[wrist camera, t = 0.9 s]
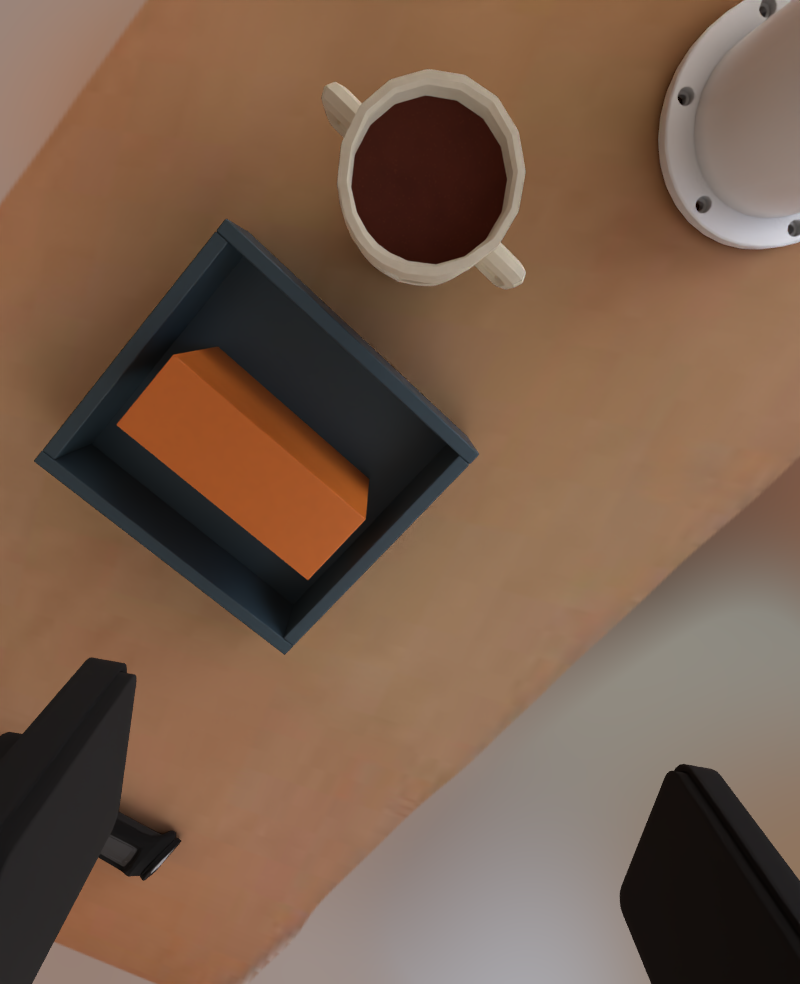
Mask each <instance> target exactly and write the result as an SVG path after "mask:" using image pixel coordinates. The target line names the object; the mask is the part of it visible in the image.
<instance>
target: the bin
mask: <svg viewBox="0 0 800 984" xmlns="http://www.w3.org/2000/svg"><path fill="white" fill-rule="evenodd" d="M212 347H219V348H220V349H221V350H223V351H224V352H225V353H226V354H227V355H228V356H229V357H231V358H232V359H233V360H234V361H235V362H236V363H237V364H239V365H240V366H241V367H242V368H243V369H244V370H245V371H247V372H248V373H249V374H250V375H251V376H252V377H253V378H255V379H256V380H257V381H258V382H259V383H260V384H261V385H262V386H264V387H265V388H266V389H267V390H268V391H269V392H270V393H272V394H273V395H274V396H275V397H276V398H277V399H278V400H280V401H281V402H282V403H283V404H284V405H285V406H286V407H288V408H289V409H290V410H291V411H292V412H293V413H294V414H296V415H297V416H298V417H299V418H300V419H301V420H302V421H304V422H305V423H306V424H307V425H308V426H309V427H310V428H312V429H313V430H314V431H315V432H316V433H317V434H318V435H320V436H321V437H322V438H323V439H324V440H325V441H326V442H328V443H329V444H330V445H331V446H332V447H333V448H334V449H336V450H337V451H338V452H339V453H340V454H341V455H342V456H343V457H345V458H346V459H347V460H348V461H349V462H350V463H351V464H353V465H354V466H355V467H356V468H357V469H358V470H359V471H361V472H362V473H363V474H364V475H365V476H366V477H367V478H369V489H368V499H367V510H366V519H365V521H364V522H363V523H362V524H361V525H360V526H359V527H358V528H357V529H356V530H355V531H354V532H353V533H352V535H351V536H350V537H349V538H348V539H347V540H346V541H345V542H344V543H343V544H342V545H341V546H340V547H339V548H338V549H337V550H336V551H335V552H334V553H333V554H332V556H331V557H330V558H329V559H328V560H327V561H326V562H325V563H324V564H323V565H322V566H321V567H320V568H319V569H318V570H317V571H316V572H315V573H314V574H313V576H312V577H311V578H310V579H309V580H307V579H306V578H304V577H303V576H302V575H301V574H300V573H298V572H297V571H296V570H295V569H293V568H292V567H291V566H290V565H288V564H287V563H286V562H285V561H284V560H282V559H281V558H280V557H279V556H277V555H276V554H275V553H274V552H272V551H271V550H270V549H269V548H267V547H266V546H265V545H264V544H263V543H261V542H260V541H259V540H258V539H256V538H255V537H254V536H253V535H251V534H250V533H249V532H248V531H247V530H245V529H244V528H243V527H242V526H240V525H239V524H238V523H237V522H235V521H234V520H233V519H232V518H231V517H229V516H228V515H227V514H226V513H224V512H223V511H222V510H221V509H219V508H218V507H217V506H216V505H214V504H213V503H212V502H211V501H210V500H208V499H207V498H206V497H205V496H203V495H202V494H201V493H200V492H198V491H197V490H196V489H195V488H194V487H192V486H191V485H190V484H189V483H187V482H186V481H185V480H184V479H182V478H181V477H180V476H179V475H177V474H176V473H175V472H174V471H173V470H171V469H170V468H169V467H168V466H166V465H165V464H164V463H163V462H161V461H160V460H159V459H158V458H157V457H155V456H154V455H153V454H152V453H150V452H149V451H148V450H147V449H145V448H144V447H143V446H142V445H141V444H139V443H138V442H137V441H136V440H134V439H133V438H132V437H131V436H129V435H128V434H127V433H126V432H124V431H123V430H122V429H121V428H120V427H118V426H117V423H118V422H119V421H120V419H121V418H122V417H123V416H124V415H125V413H126V412H127V411H128V410H129V408H130V407H131V406H132V405H133V403H134V402H135V401H136V400H137V399H138V397H139V396H140V395H141V394H142V392H143V391H144V390H145V389H146V387H147V386H148V385H149V384H150V383H151V381H152V380H153V379H154V378H155V376H156V375H157V374H158V373H159V371H160V370H161V369H162V368H163V367H164V365H165V364H166V363H167V362H168V360H169V359H170V358H171V357H172V355H174V354H180V353H185V352H191V351H196V350H201V349H207V348H212ZM478 455H479V453H478V452H477V450H476V449H475V447H474V446H473V444H472V443H471V441H470V440H469V438H468V437H467V436H466V435H465V434H464V433H463V432H462V431H461V430H460V429H459V428H458V427H457V426H456V425H454V424H453V423H452V422H451V421H450V420H449V419H448V418H447V417H446V416H445V415H444V414H443V413H442V412H441V411H439V410H438V409H437V408H436V407H435V406H434V405H433V404H432V403H431V402H430V401H429V400H428V399H427V398H426V397H424V396H423V395H422V394H421V393H420V392H419V391H418V390H417V389H416V388H415V387H414V386H413V385H412V384H411V383H409V382H408V381H407V380H406V379H405V378H404V377H403V376H402V375H401V374H400V373H399V372H398V371H397V370H396V369H395V368H393V367H392V366H391V365H390V364H389V363H388V362H387V361H386V360H385V359H384V358H383V357H382V356H381V355H380V354H378V353H377V352H376V351H375V350H374V349H373V348H372V347H371V346H370V345H369V344H368V343H367V342H366V341H365V340H363V339H362V338H361V337H360V336H359V335H358V334H357V333H356V332H355V331H354V330H353V329H352V328H351V327H350V326H349V325H347V324H346V323H345V322H344V321H343V320H342V319H341V318H340V317H339V316H338V315H337V314H336V313H335V312H334V311H332V310H331V309H330V308H329V307H328V306H327V305H326V304H325V303H324V302H323V301H322V300H321V299H320V298H319V297H317V296H316V295H315V294H314V293H313V292H312V291H311V290H310V289H309V288H308V287H307V286H306V285H305V284H304V283H302V282H301V281H300V280H299V279H298V278H297V277H296V276H295V275H294V274H293V273H292V272H291V271H290V270H289V269H288V268H286V267H285V266H284V265H283V264H282V263H281V262H280V261H279V260H278V259H277V258H276V257H275V256H274V255H273V254H271V253H270V252H269V251H268V250H267V249H266V248H265V247H264V246H263V245H262V244H261V243H260V242H259V241H258V240H256V239H255V238H254V237H253V236H252V235H251V234H250V233H249V232H248V231H246V230H244V229H243V228H241V227H239V226H238V225H236V224H235V223H233V222H231V221H230V220H228V219H225V220H224V221H223V223H222V224H221V225H220V227H219V228H218V229H217V232H215V233H214V234H213V235H212V237H211V238H210V239H209V240H208V242H207V243H206V244H205V246H204V247H203V248H202V249H201V251H200V252H199V253H198V254H197V256H196V257H195V258H194V259H193V261H192V262H191V263H190V264H189V266H188V267H187V268H186V270H185V271H184V272H183V273H182V275H181V276H180V277H179V278H178V280H177V281H176V282H175V283H174V285H173V286H172V287H171V289H170V290H169V291H168V292H167V294H166V295H165V296H164V297H163V299H162V300H161V301H160V302H159V304H158V305H157V306H156V307H155V309H154V310H153V311H152V313H151V314H150V315H149V316H148V318H147V319H146V320H145V321H144V323H143V324H142V325H141V326H140V328H139V329H138V330H137V332H136V333H135V334H134V335H133V337H132V338H131V339H130V340H129V342H128V343H127V344H126V345H125V347H124V348H123V349H122V350H121V352H120V353H119V354H118V356H117V357H116V358H115V359H114V361H113V362H112V363H111V364H110V366H109V367H108V368H107V369H106V371H105V372H104V373H103V374H102V376H101V377H100V378H99V380H98V381H97V382H96V383H95V385H94V386H93V387H92V388H91V390H90V391H89V392H88V393H87V395H86V396H85V397H84V399H83V400H82V401H81V402H80V404H79V405H78V406H77V407H76V409H75V410H74V411H73V412H72V414H71V415H70V416H69V417H68V419H67V420H66V421H65V423H64V424H63V425H62V426H61V428H60V429H59V430H58V431H57V433H56V434H55V435H54V436H53V438H52V439H51V440H50V441H49V443H48V444H47V445H46V447H45V448H44V449H43V451H41V453H40V454H39V455H38V456H37V458H36V459H35V460H34V462H36V463H37V464H38V465H39V466H41V467H42V468H43V469H45V470H46V471H47V472H49V473H50V474H51V475H52V476H54V477H55V478H56V479H58V480H59V481H60V482H62V483H63V484H64V485H65V486H67V487H68V488H69V489H71V490H72V491H73V492H74V493H76V494H77V495H78V496H80V497H81V498H82V499H84V500H85V501H86V502H87V503H89V504H90V505H91V506H93V507H94V508H95V509H96V510H98V511H99V512H100V513H102V514H103V515H104V516H106V517H107V518H108V519H109V520H111V521H112V522H113V523H115V524H116V525H117V526H118V527H120V528H121V529H122V530H124V531H125V532H126V533H128V534H129V535H130V536H131V537H133V538H134V539H135V540H137V541H138V542H139V543H140V544H142V545H143V546H144V547H146V548H147V549H148V550H150V551H151V552H152V553H153V554H155V555H156V556H157V557H159V558H160V559H161V560H163V561H164V562H165V563H166V564H168V565H169V566H170V567H172V568H173V569H174V570H175V571H177V572H178V573H179V574H181V575H182V576H183V577H185V578H186V579H187V580H188V581H190V582H191V583H192V584H194V585H195V586H196V587H197V588H199V589H200V590H201V591H203V592H204V593H205V594H207V595H208V596H209V597H210V598H212V599H213V600H214V601H216V602H217V603H218V604H219V605H221V606H222V607H223V608H225V609H226V610H227V611H229V612H230V613H231V614H232V615H234V616H235V617H236V618H238V619H239V620H240V621H242V622H243V623H244V624H245V625H247V626H248V627H249V628H251V629H252V630H253V631H254V632H256V633H257V634H258V635H260V636H261V637H262V638H264V639H265V640H266V641H267V642H269V643H270V644H271V645H273V646H274V647H275V648H276V649H278V650H279V651H280V652H282V653H283V654H284V655H285V654H286V653H287V652H288V651H289V650H290V649H291V648H292V647H293V645H295V644H296V643H297V642H298V641H299V639H300V638H301V637H302V636H303V635H304V634H305V633H306V632H307V631H308V630H309V629H310V628H311V627H312V626H313V625H314V624H315V623H316V622H317V621H318V620H319V619H320V618H321V617H322V616H323V615H324V614H325V613H326V612H327V611H328V610H329V609H330V608H331V607H332V606H333V604H334V603H335V602H336V601H337V600H338V599H339V598H340V597H341V596H342V595H343V594H344V593H345V592H346V591H347V590H348V589H349V588H350V587H351V586H352V585H353V584H354V583H355V582H356V581H357V580H358V579H359V578H360V577H361V576H362V575H363V574H364V573H365V572H366V571H367V570H368V568H369V567H370V566H371V565H372V564H373V563H374V562H375V561H376V560H377V559H378V558H379V557H380V556H381V555H382V554H383V553H384V552H385V551H386V550H387V549H388V548H389V547H390V546H391V545H392V544H393V543H394V542H395V541H396V540H397V539H398V538H399V537H400V536H401V535H402V533H403V532H404V531H405V530H406V529H407V528H408V527H409V526H410V525H411V524H412V523H413V522H414V521H415V520H416V519H417V518H418V517H419V516H420V515H421V514H422V513H423V512H424V511H425V510H426V509H427V508H428V507H429V506H430V505H431V504H432V503H433V502H434V501H435V500H436V498H437V497H438V496H439V495H440V494H441V493H442V492H443V491H444V490H445V489H446V488H447V487H448V486H449V485H450V484H451V483H452V482H453V481H454V480H455V479H456V478H457V477H458V476H459V475H460V474H461V473H462V472H463V471H464V470H465V469H466V468H467V467H468V465H469V464H470V463H471V462H472V461H473V460H474V459H475V458H476V457H477V456H478ZM468 463H469V464H468Z"/></svg>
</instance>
